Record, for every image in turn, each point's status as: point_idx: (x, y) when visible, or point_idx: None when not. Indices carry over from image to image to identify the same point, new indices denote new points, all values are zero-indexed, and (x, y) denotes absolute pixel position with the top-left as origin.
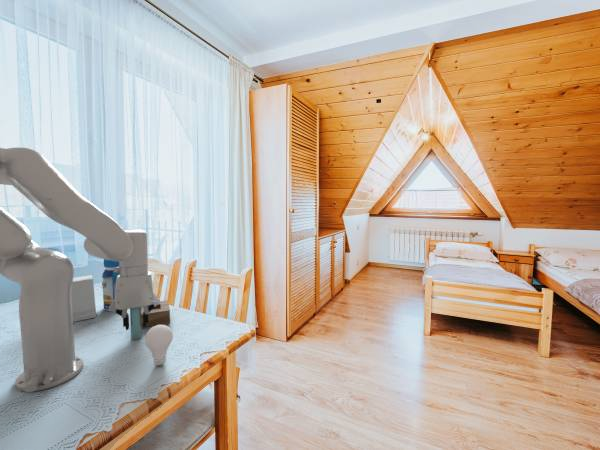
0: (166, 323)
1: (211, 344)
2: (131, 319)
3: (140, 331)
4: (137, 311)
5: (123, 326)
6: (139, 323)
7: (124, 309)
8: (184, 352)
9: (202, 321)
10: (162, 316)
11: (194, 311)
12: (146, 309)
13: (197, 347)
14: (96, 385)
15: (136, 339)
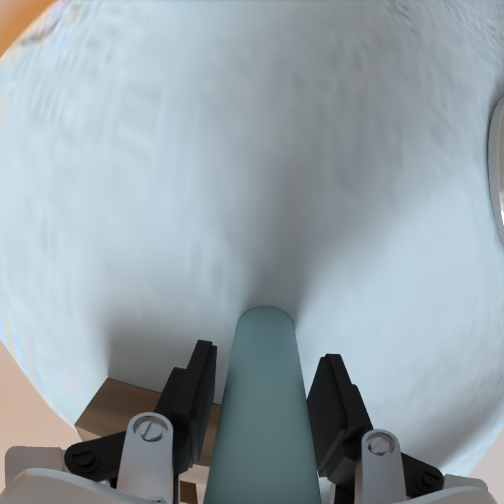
0: (119, 385)
1: (8, 89)
2: (306, 416)
3: (241, 337)
4: (247, 472)
5: (354, 384)
6: (241, 373)
7: (391, 502)
8: (83, 47)
9: (7, 309)
10: (119, 417)
11: (47, 403)
12: (141, 459)
13: (39, 76)
14: (423, 3)
15: (269, 307)
